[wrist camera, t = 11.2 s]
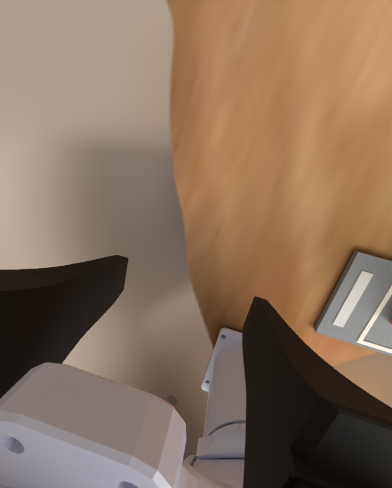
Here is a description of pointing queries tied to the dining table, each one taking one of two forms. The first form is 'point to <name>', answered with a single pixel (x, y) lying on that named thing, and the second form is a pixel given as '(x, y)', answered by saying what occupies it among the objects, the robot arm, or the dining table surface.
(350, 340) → the sheet board
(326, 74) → the dining table surface
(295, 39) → the dining table surface
